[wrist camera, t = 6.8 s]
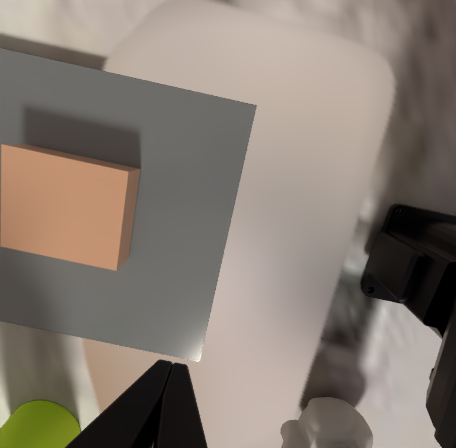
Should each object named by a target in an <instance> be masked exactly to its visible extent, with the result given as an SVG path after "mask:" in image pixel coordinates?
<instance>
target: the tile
mask: <svg viewBox="0 0 456 448" xmlns="http://www.w3.org/2000/svg"><path fill="white" fill-rule="evenodd" d="M139 176H140V169H138V168H134V167H129V166H125V165H120V164H116V163H111V162H106V161H102V160H97V159H93V158H88V157H83V156H79V155H74V154H70V153H65V152H60V151H56V150H51V149H47V148H42V147H38V146H33V145H28V144H1V247H6V248H11V249H15V250H20V251H25V252H30V253H34V254H39V255H44V256H49V257H53V258H58V259H63V260H68V261H72V262H77V263H82V264H86V265H91V266H96V267H101V268H105V269H110V270H115V271H117V270H118V269H119V268H120V267H121V266H122V265H123V264H124V263H125V262H126V261H127V260H128V259H129V252H130V244H131V236H132V229H133V221H134V214H135V206H136V199H137V191H138V183H139Z"/></svg>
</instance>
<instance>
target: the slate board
mask: <svg viewBox="0 0 456 448" xmlns="http://www.w3.org/2000/svg"><path fill="white" fill-rule="evenodd" d="M255 110H256V105H253V104H248V103H244V102H239V101H235V100H230V99H226V98H221V97H217V96H212V95H207V94H204V93H199V92H194V91H190V90H185V89H181V88H177V87H172V86H168V85H163V84H159V83H154V82H150V81H146V80H141V79H136V78H132V77H127V76H123V75H119V74H114V73H109V72H105V71H101V70H96V69H92V68H87V67H83V66H79V65H74V64H70V63H65V62H61V61H56V60H52V59H47V58H43V57H38V56H34V55H29V54H25V53H21V52H16V51H12V50H7V49H3V48H0V321H4V322H9V323H14V324H18V325H23V326H28V327H33V328H38V329H43V330H47V331H52V332H57V333H62V334H67V335H72V336H77V337H81V338H86V339H91V340H96V341H101V342H106V343H111V344H116V345H120V346H125V347H130V348H135V349H140V350H145V351H149V352H154V353H160V354H164V355H169V356H174V357H178V358H183V359H188V360H193V361H198V362H199V361H200V357H201V352H202V348H203V343H204V339H205V335H206V330H207V326H208V321H209V317H210V312H211V308H212V303H213V299H214V294H215V290H216V285H217V281H218V276H219V272H220V267H221V263H222V258H223V254H224V249H225V245H226V240H227V235H228V231H229V227H230V222H231V218H232V213H233V209H234V205H235V200H236V196H237V191H238V186H239V182H240V178H241V173H242V169H243V164H244V160H245V155H246V151H247V146H248V142H249V137H250V132H251V128H252V124H253V119H254V115H255ZM1 144H28V145H33V146H38V147H42V148H47V149H51V150H56V151H60V152H65V153H70V154H74V155H79V156H83V157H88V158H93V159H97V160H102V161H106V162H111V163H116V164H120V165H125V166H129V167H134V168H138V169H140V176H139V183H138V191H137V199H136V206H135V214H134V221H133V229H132V236H131V244H130V252H129V259H128V260H127V261H126V262H125V263H124V264H123V265H122V266H121V267H120V268H119V269H118V270H117V271H115V270H110V269H105V268H101V267H96V266H91V265H86V264H82V263H77V262H72V261H68V260H63V259H58V258H53V257H49V256H44V255H39V254H34V253H30V252H25V251H20V250H15V249H11V248H6V247H1Z"/></svg>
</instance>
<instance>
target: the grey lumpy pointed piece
mask: <svg viewBox="0 0 456 448" xmlns="http://www.w3.org/2000/svg"><path fill="white" fill-rule="evenodd" d="M281 435H282V438H283V444H282V448H372V445H373V435H372V432H371V430H370V427H369V426H368V424H367V422H366V421H365V419H364V417H363V416H362V415H361V414H360V413H359V412H358V411H357V410H356V409H354V408H353V407H352V406H351V405H350V404H349V403H347V402H346V401H344V400H341V399H338V398H333V397H319V398H312V399H311V400H310V401H309V403H308V405H307V407H306V408H305V409H304V410H303V412H302V413H301V416H300V418H299V420H289V421H287V422H285V423H284V424H283V425H282V427H281Z"/></svg>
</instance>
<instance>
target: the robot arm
mask: <svg viewBox="0 0 456 448" xmlns="http://www.w3.org/2000/svg"><path fill="white" fill-rule="evenodd" d="M398 209H401V212H400V214H398V215H396V211H397V210H398ZM366 269H367V271H366V274H365V277H364V279H363V282H362V285H361V291H362V292H363V293H364V294H365V295H366V296H368V297H373V298H377V299H382V300H387V301H391V302H396V303H401V304H403V305H404V306H406V307H407V308H408V309H409V310H410V311H411V312H412V313H413V314H414V315H415V316H416V317H417V318H418V319H419V320H420V321H421V322H422V323H423V324H424V325H426V326H429V327H430V328H431V329H432V330H433V331H434V332H435V333H436V334H437V335H438V336H439V337H440V338H441V339H442V343H441V347H440V350H439V353H438V357H437V360H436V363H435V367H434V368H433V369H432V370H431V374H430V377H429V379H430V383H429V387H428V390H427V397H426V408H427V411H428V413H429V416H430V418H431V421H432V423H433V426H434V427H435V429H436V431H435V434H434V436H435V439H436V440H437V442H438V443H439V444H440V446H441V447H442V448H456V216H454V215H449V214H444V213H440V212H435V211H431V210H426V209H422V208H417V207H413V206H408V205H403V204H394V205H392V206H391V207H390V209H389V211H388V214H387V217H386V220H385V222H384V225H383V228H382V230H381V232H380V233H379V234H378V235H377V238H376V240H375V243H374V246H373V249H372V251H371V254H370V257H369V260H368V262H367V265H366ZM368 287H372V289H371V290H369V291H367V289H368ZM152 447H153V448H207V443H206V439H205V435H204V431H203V427H202V423H201V419H200V414H199V411H198V407H197V402H196V398H195V394H194V390H193V386H192V382H191V378H190V374H189V369H188V366H187V365H185V364H180V363H174V364H172V362H171V361H165V360H158V361H157V362H156V363H155V364H154V365H153V366H152V367H150V368H149V369H148V370H147V371H146V372H145V373H144V374H143V375H142V376H141V377H140V378H139V379H138V380H137V381H135V382H134V383H133V384H132V385H131V386H130V387H129V388H128V389H127V390H126V391H125V392H124V393H122V394H121V395H120V396H119V397H118V398H117V399H116V400H115V401H114V402H113V403H112V404H111V405H110V406H109V407H108V408H106V410H104V411H103V412H102V413H101V414H100V415H99V416H98V417H97V418H96V419H95V420H94V421H92V422H91V423H90V424H89V425H88V426H87V427H86V428H85V429H84V430H83V431H82V432H81V433H80V434H79V435H77V436H76V437H75V438H74V439H73V440H72V441H71V442H70V443H69V444H68V445H67V446H66V447H65V448H152Z"/></svg>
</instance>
